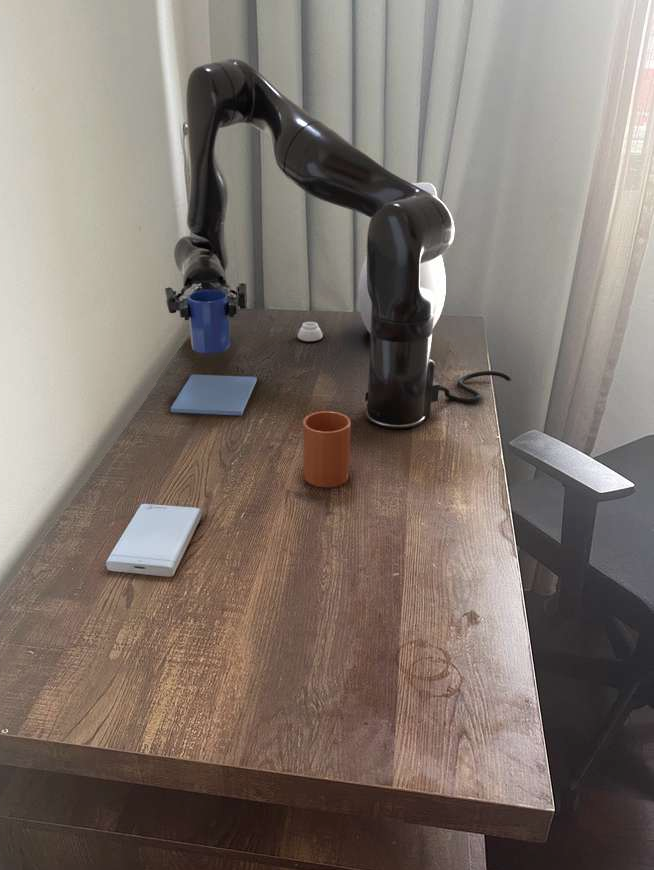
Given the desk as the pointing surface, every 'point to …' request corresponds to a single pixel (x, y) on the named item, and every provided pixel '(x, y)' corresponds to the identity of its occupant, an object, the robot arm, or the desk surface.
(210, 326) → the blue cup
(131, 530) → the hard drive
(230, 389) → the blue mat
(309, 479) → the terracotta cup
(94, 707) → the desk surface
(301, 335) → the white jar
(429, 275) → the pitcher
